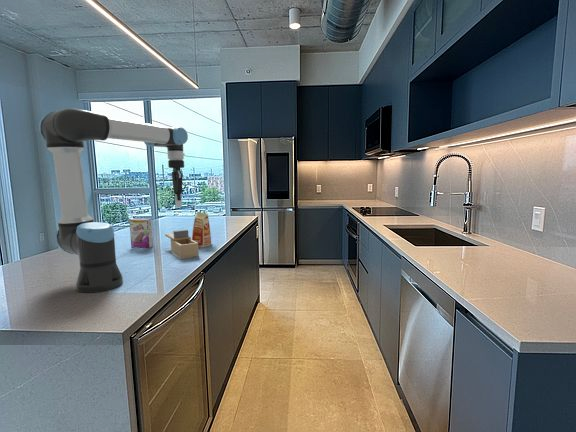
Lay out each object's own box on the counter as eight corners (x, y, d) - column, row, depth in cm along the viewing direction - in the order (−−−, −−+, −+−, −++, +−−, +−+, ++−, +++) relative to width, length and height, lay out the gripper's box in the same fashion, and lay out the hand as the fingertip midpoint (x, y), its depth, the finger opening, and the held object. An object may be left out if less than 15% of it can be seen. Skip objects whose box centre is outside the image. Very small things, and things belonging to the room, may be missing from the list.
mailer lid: (173, 240, 167) (173, 231, 167) (165, 235, 182) (164, 227, 182) (190, 238, 172) (190, 230, 172) (181, 233, 187) (181, 225, 187)
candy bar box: (130, 248, 185) (128, 219, 183) (135, 246, 190) (133, 218, 188) (149, 248, 184) (147, 219, 182) (153, 246, 189) (152, 218, 186)
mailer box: (180, 259, 158) (179, 245, 158) (171, 252, 173) (170, 239, 172) (198, 256, 163) (198, 242, 162) (188, 249, 178) (187, 237, 177)
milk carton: (191, 246, 187) (189, 212, 184) (200, 243, 195) (198, 210, 193) (205, 247, 184) (203, 212, 182) (213, 244, 193) (212, 210, 190)
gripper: (187, 159, 159) (189, 207, 162) (180, 160, 170) (183, 205, 173) (171, 159, 155) (174, 208, 158) (165, 160, 166) (168, 206, 169)
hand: (178, 206), depth 165 cm, fingers closed
